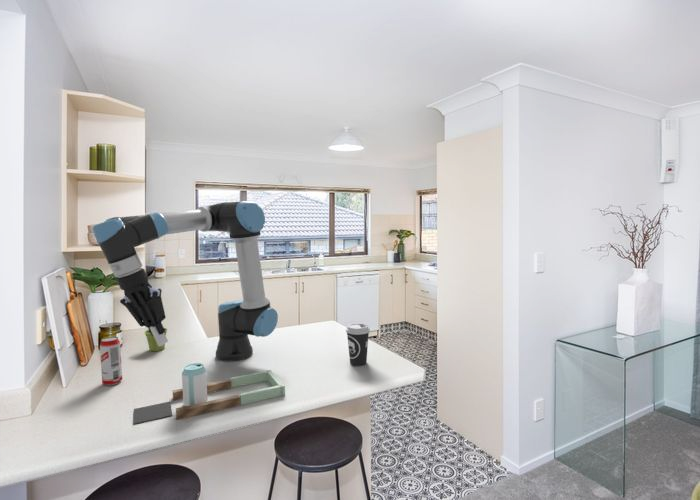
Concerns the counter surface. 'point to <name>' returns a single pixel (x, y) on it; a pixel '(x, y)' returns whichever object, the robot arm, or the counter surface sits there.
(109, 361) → the beer can
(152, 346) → the plant pot
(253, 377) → the corral
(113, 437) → the counter surface
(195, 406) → the channel
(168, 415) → the pit mat
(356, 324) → the coffee cup
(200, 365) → the can
